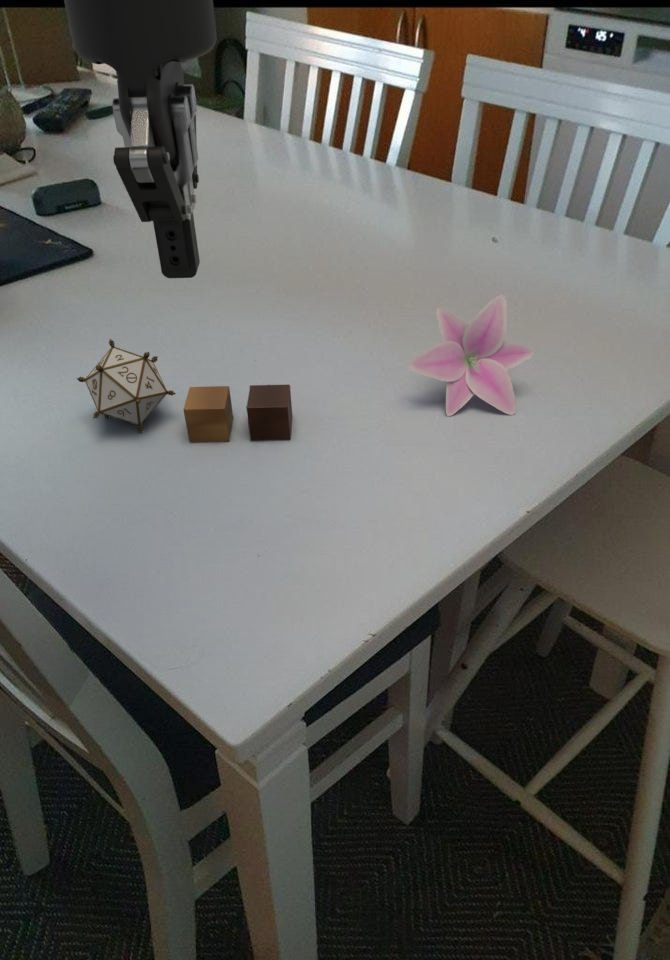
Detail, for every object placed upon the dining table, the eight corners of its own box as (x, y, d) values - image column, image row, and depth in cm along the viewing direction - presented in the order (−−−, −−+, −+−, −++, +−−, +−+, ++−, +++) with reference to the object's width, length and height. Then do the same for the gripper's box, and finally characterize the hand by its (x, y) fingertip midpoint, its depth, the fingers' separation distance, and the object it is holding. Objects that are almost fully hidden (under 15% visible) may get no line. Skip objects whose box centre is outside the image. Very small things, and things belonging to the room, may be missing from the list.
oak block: (189, 442, 80) (183, 409, 78) (195, 419, 84) (189, 386, 81) (229, 441, 80) (224, 408, 78) (233, 418, 83) (229, 385, 81)
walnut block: (250, 441, 80) (246, 407, 78) (253, 417, 83) (250, 385, 81) (290, 440, 80) (287, 406, 78) (292, 417, 83) (290, 384, 81)
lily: (388, 408, 86) (407, 362, 77) (425, 323, 90) (447, 271, 81) (493, 452, 85) (524, 411, 76) (525, 365, 90) (557, 316, 81)
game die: (159, 442, 87) (205, 379, 82) (99, 459, 80) (145, 391, 74) (110, 381, 88) (152, 315, 83) (47, 393, 81) (88, 321, 76)
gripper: (88, -64, 46) (142, 234, 57) (16, -32, 35) (99, 324, 46) (221, -68, 45) (249, 231, 56) (187, -38, 35) (230, 321, 46)
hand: (181, 273), depth 51 cm, fingers closed
